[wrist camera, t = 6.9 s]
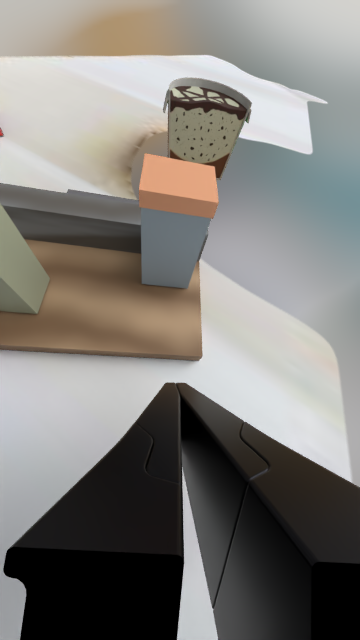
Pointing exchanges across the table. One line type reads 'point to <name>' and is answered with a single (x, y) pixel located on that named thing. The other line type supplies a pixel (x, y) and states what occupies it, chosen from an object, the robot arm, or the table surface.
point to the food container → (204, 121)
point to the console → (96, 282)
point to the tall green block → (19, 271)
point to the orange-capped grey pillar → (174, 217)
